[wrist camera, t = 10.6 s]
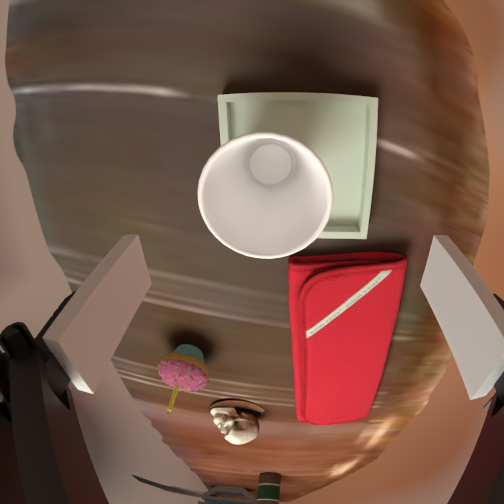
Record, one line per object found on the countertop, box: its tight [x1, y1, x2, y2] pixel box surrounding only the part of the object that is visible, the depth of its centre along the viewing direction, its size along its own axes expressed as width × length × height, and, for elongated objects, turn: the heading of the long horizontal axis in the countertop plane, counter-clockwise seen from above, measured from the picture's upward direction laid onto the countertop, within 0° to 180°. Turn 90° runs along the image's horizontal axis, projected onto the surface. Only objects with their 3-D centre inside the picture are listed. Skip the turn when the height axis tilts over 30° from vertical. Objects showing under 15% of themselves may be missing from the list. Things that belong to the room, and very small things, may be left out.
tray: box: [218, 92, 378, 239], centre depth 30 cm, size 16×16×2 cm
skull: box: [209, 400, 264, 444], centre depth 57 cm, size 12×10×10 cm
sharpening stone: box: [198, 485, 257, 504], centre depth 94 cm, size 25×8×11 cm, turn 101°
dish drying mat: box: [288, 251, 407, 425], centre depth 45 cm, size 16×41×4 cm, turn 8°
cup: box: [198, 132, 334, 259], centre depth 26 cm, size 10×10×11 cm
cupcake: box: [158, 344, 210, 415], centre depth 43 cm, size 9×8×12 cm
